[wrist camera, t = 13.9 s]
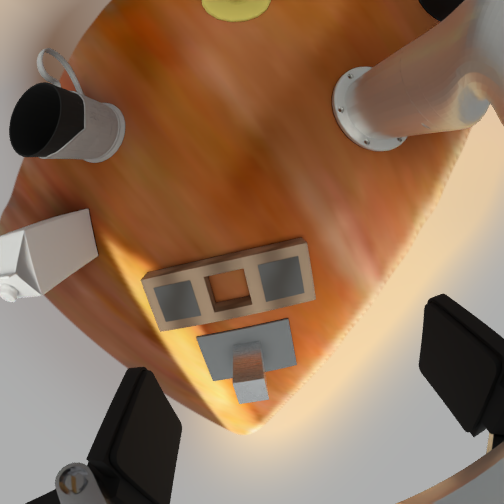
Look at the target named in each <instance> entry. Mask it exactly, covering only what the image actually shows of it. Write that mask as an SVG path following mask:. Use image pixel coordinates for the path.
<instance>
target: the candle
mask: <svg viewBox="0 0 504 504" xmlns="http://www.w3.org/2000/svg"><path fill="white" fill-rule="evenodd" d="M270 2H271V0H202V6H203V7H204V9H205V10H206V12H207V13H208V14H209V15H211V16H213V17H215V18H216V19H218V20H223V21H228V22H241V21H248V20H250V19H253V18H256V17H258V16H260V15H261V14H262V13H264V12H265V11H266V10H267V8H268V6H269V4H270Z"/></svg>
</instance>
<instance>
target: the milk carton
mask: <svg viewBox="0 0 504 504" xmlns="http://www.w3.org/2000/svg"><path fill="white" fill-rule="evenodd" d="M97 256H98V252H97V248H96V244H95V239H94V235H93V230H92V225H91V220H90V215H89V209H84V210H80V211H75V212H71V213H68V214H64V215H60V216H56V217H53V218H50V219H47V220H44V221H41V222H38V223H35V224H32V225H29V226H26V227H23V228H20V229H18V230H15V231H12V232H9V233H7V234H4V235H2V236H0V296H1V298H3V299H4V300H6V301H8V302H15V301H16V299H17V298H23V297H35V296H42V295H44V294H45V293H47V292H48V291H49V290H51V289H52V288H53V287H55V286H56V285H57V284H59V283H60V282H61V281H63V280H64V279H66V278H67V277H68V276H70V275H71V274H73V273H74V272H75V271H77V270H78V269H80V268H81V267H83V266H84V265H85V264H87V263H88V262H90V261H91V260H93V259H94V258H96V257H97Z"/></svg>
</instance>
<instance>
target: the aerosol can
mask: <svg viewBox="0 0 504 504" xmlns="http://www.w3.org/2000/svg"><path fill="white" fill-rule="evenodd" d="M463 1H464V0H419V2H420V3H421V5H422V6H423V8H424V9H425V10H426V11H427V12H428V13H429V14H430V15H431V16H433V17H434V18H436V19H437V20H439V21H442V20H444V19H445V18H446V17H447V16H449V15H450V14H451V13H452V12H453V11H454V10H455V9H456V8H457V7H458V6H459V5H460V4H461V3H462V2H463Z"/></svg>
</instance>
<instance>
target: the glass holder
mask: <svg viewBox="0 0 504 504" xmlns="http://www.w3.org/2000/svg"><path fill="white" fill-rule="evenodd" d="M44 52H46V53H49V54H51V55H52V56H54V57H55V58H56V59H57V60H58V61H59V62H60V63H61V64H62V65H63V66H64V68H65V69H66V71H67V72H68V74H69V76H70V78H71V80H72V82H73V84H74V86H75V88H76V91H77V92H74V91H68V90H66V89H63V88H61V84H60V82H59V81H58V80H57V79H55V78H53V77H51V76H50V75H49V74H48V73H47V72H46V70H45V68H44V66H43V61H42V58H43V54H44ZM37 67H38V70H39V72H40V74H41V76H42V77H43V78H44V79H45V80H46V81H48V82H50V83H52V84H50V83H39V84H36V85H34V86H32V87H31V88H30V89H28V90H27V91H26V92H25V93H24V94H23V95H22V97H21V98H20V99H19V101H18V102H17V104H16V106H15V108H14V111H13V113H12V116H11V120H10V128H9V135H10V141H11V144H12V146H13V149H14V150H15V151H16V152H17V153H18V154H19V155H21V156H23V157H39V158H42V159H83V160H85V161H88V162H92V163H98V162H102V161H104V160H107V159H108V158H110V157H111V156H112V155H113V154H114V153H115V152H116V151H117V150H118V148H119V147H120V145H121V143H122V141H123V138H124V134H125V120H124V117H123V115H122V113H121V111H120V110H119V109H118V108H117V107H116V106H114V105H112V104H109V103H100V102H98V101H96V100H93V99H91V98H89V97H86V96H85V95H84V93H83V91H82V89H81V86H80V84H79V82H78V80H77V78H76V75H75V73H74V71H73V69H72V68H71V66H70V65H69V64H68V62H67V61H66V60H65V59H64V58H63V57H62V56H61V55H60V54H59V53H58V52H56V51H55V50H53V49H51V48H47V49H44V50H42V51H41V52H40V53H39V55H38V58H37ZM53 84H54V85H53Z"/></svg>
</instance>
